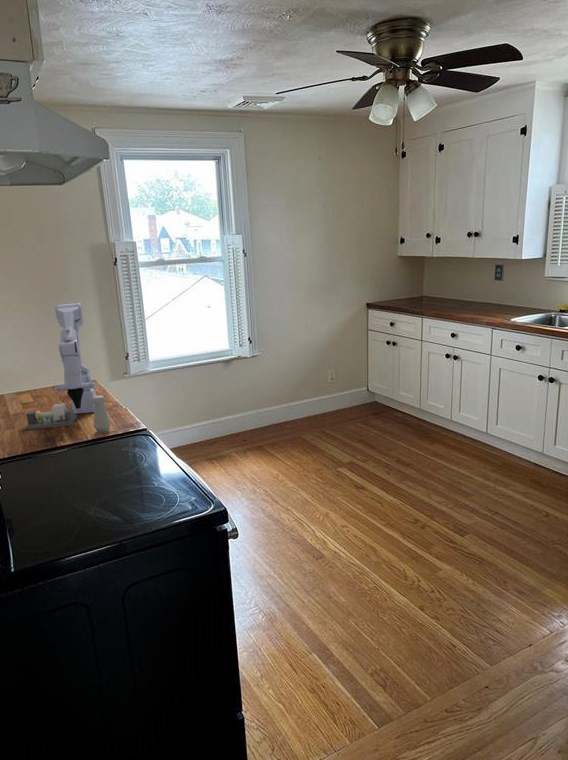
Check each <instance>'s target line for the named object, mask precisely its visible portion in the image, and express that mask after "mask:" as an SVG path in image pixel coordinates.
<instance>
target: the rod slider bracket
mask: <svg viewBox="0 0 568 760" xmlns="http://www.w3.org/2000/svg"><path fill="white" fill-rule="evenodd" d="M36 411H38V410H37V409H35V410H29V411H28V412H27V413H26V418H27V425H26V426H25V429H26V430H27V429H28V430H36V429H37V430H39V429H47V428H48V429H49V428H58V427H60V428H61V427H69V426H72V425H73V424H74V422H75V421H76V420H77V419H78V414H74V411H73V408H67V411H64V412H65V416H67V418H66V419H65V420H63V417H62V415H61V416H59V417H60V420H55V421H54V415H53V411H49V412H47V411H46V412H41V413H39V418H40V421H37V420H36V417H35V413H36ZM76 418H77V419H76Z"/></svg>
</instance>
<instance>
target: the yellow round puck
mask: <svg viewBox="0 0 568 760" xmlns="http://www.w3.org/2000/svg"><path fill="white" fill-rule="evenodd" d="M39 413H42V412H41V411H40V410H37V411H36V413H35V417H36V420H37V421H40V418H39Z"/></svg>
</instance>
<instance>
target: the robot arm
mask: <svg viewBox="0 0 568 760" xmlns="http://www.w3.org/2000/svg"><path fill="white" fill-rule="evenodd" d="M54 311H55V316H56V320H57V323H58V324H59V327H61V328H62V329H61V330H60V344H58V351H59V356H60V357H61V358H60V359H61V363H62V364H63V365H62V366H63V371H64V373H63V377H64V378H63V381H64V384H60V385H59V384H58V385H55V386H54V392H56V393H58V392H62V391H63V392H64V391H67V392H66V393H67V395H68V397H70V400H71V405H72V409H73V411H74V415H78V414H86V413H94V407H95V404H93V403H92V398H93V397H95V396H97V392H96V389H95V388H97V385H96V382H92V376H91V372H90V369H89V368H88V367H86V366H84V365H83V363H82V355H81V344H80V336H79V332H80V331H79V330H80V327H81V326H83V325H84V317H83V316H84V314H83V307H82V304H81V302H77V303H76V302H75V303H66V304H65V303H64V304H56V305H55V306H54Z"/></svg>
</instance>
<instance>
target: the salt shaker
mask: <svg viewBox="0 0 568 760" xmlns="http://www.w3.org/2000/svg"><path fill="white" fill-rule="evenodd" d="M105 402H106V398H105V395H96V396H95V397H93V398H92V403H93V404H95V407H94V412H93V415H94V417H93V428H94V430H95V431H96V433H97V434H105V433H109V432H110V429H111V425H112V424H111V421H110V418H109V415H108V412H107V409H106V406H105Z"/></svg>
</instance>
